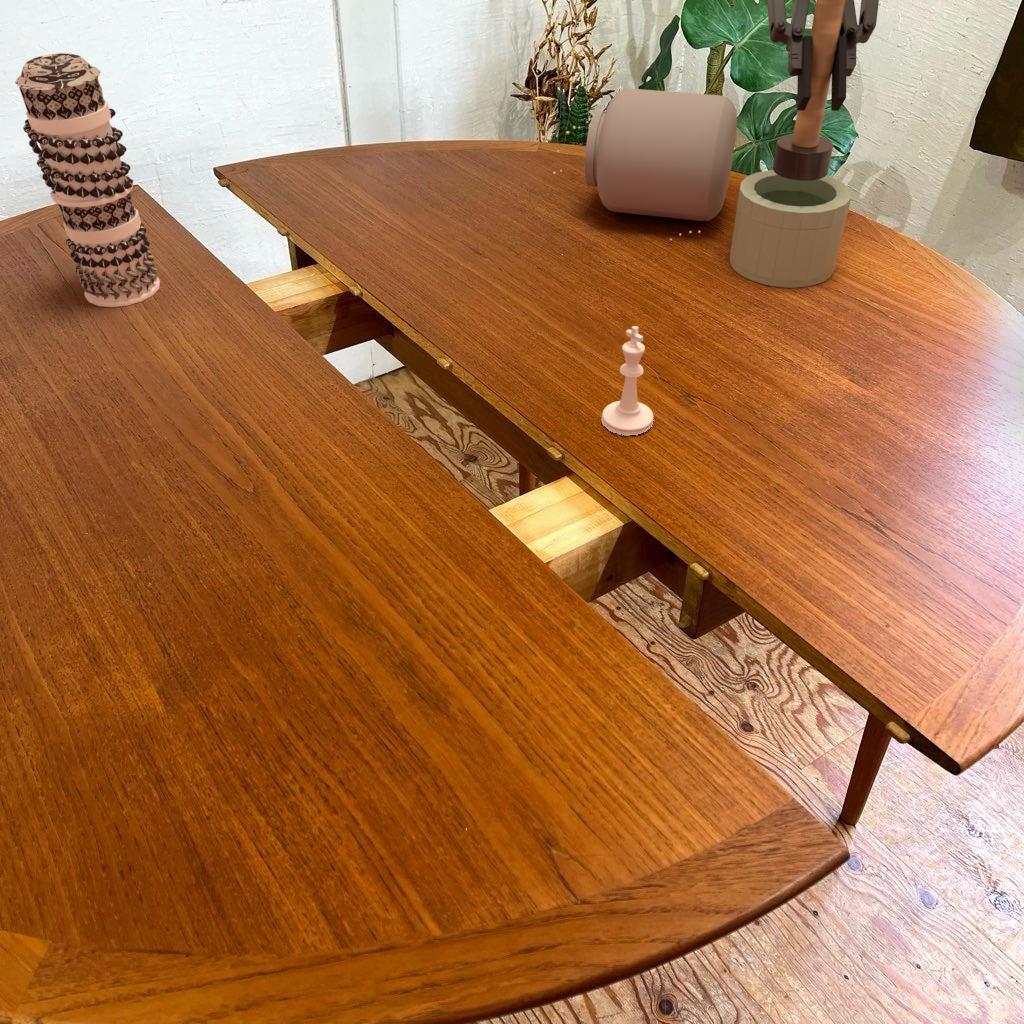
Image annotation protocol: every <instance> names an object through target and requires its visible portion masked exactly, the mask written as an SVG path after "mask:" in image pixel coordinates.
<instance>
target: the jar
mask: <svg viewBox="0 0 1024 1024" xmlns="http://www.w3.org/2000/svg"><path fill="white" fill-rule="evenodd" d="M599 106H600V107H603V103H600V105H599ZM585 123H586V124H589V127H588V132H587V137H586V145H585V155H584V156H585V157H584V176H585V183H586V186H588V187H594V188H595V187H597V193H598V196H599V199H600V201H601V203H602V205H603V206H604V207H605V208H606V209H607V210H608V211H610V212H613V213H620V214H629V215H638V216H649V217H659V218H666V219H667V218H669V219H676V220H686V221H694V222H695V221H696V222H709V221H710V220H712V219H714V218H716V216H717V215H718V214H719V213H720V212H721V211H722V208H723V205H724V203H725V201H726V200H725V199H726V196H727V193H728V188H729V184H730V183H729V182H730V177H731V173H732V165H733V159H734V154H735V145H736V140H737V139H736V138H737V130H738V129H737V128H738V113H737V109H736V106H735V104H734V102H733V101H732V100H731V99H730V98H728V97H727V96H724V95H719V94H705V93H695V92H694V93H693V92H681V91H667V90H654V89H642V88H623V89H622V90H619V91H618V92H617V93H616V94H615V95H613V97H612V98H611V100H610V101H609V103H608V105H607V108H606V109H605V110H603V111H602V110H595V111H594V113H593V114H592V117H591V119H590V123H589V121H588V120H587V121H586V122H585ZM572 129H573V130H576V126H575V125H574V126H572ZM577 129H578V130H580V129H581V126H578V128H577ZM565 133H566V135H570V131H569V130H567V131H566V132H565ZM545 139H546V136H545V135H542V136H541V140H545ZM546 140H547V141H548V142H551V141H552V137H550V136H549V137H547V139H546ZM556 153H560V150H556ZM562 172H563V169H560V170H559V173H562ZM552 175H554V176H555V175H557V172H556V171H553V172H552ZM688 233H689V234H692V233H693V232H692V230H690V231H689V232H688ZM697 233H698V234H701V230H698V231H697ZM678 235H679V236H680V237H681V236H682V233H679V234H678ZM669 241H670V242H672V241H673V238H669Z"/></svg>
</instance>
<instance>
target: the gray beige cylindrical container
mask: <svg viewBox="0 0 1024 1024" xmlns="http://www.w3.org/2000/svg"><path fill="white" fill-rule="evenodd" d="M737 197H738V198H737V204H736V211H735V217H734V225H733V226H734V227H733V232H732V237H731V238H732V239H731V246H730V252H729V264H730V267H731V268H732V269H733V270H734V271H735V272H736V273H737V274H739V276H742V277H743V278H745V279H747V280H749V281H752V282H754V283H758V284H761V285H764V286H770V287H775V288H785V289H787V288H788V289H789V288H790V289H791V288H793V289H795V288H806V287H811V286H815V285H819V284H821V283H824V282H825V281H827V280H829V279H830V278H831V277H832V276H833V274H834V272H835V268H836V266H837V261H838V258H839V254H840V250H841V244H842V239H843V235H844V231H845V227H846V222H847V218H848V213H849V210H850V205H851V201H852V191H851V189H850V188H849V187H848V186H847V185H846V184H845V183H843V182H842V181H840V180H838V179H837V178H835V177H832V176H830V175H828V174H827V175H826V176H825V177H824V178H821V179H818V180H811V181H800V180H792V179H787V178H784V177H781V176H779V175H777V174H776V173H775V172H774V171H773V169H768V170H762V171H758V172H755V173H752V174H749V175H747V176H746V177H745V178H744V179H743V180H741V182H740V184H739V190H738V196H737Z"/></svg>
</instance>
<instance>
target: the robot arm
mask: <svg viewBox="0 0 1024 1024" xmlns="http://www.w3.org/2000/svg"><path fill="white" fill-rule="evenodd" d="M879 2H880V0H860V9H859V15H858V16H859V17H858V19H857V13H856V6H855V0H846V1H845V6H844V12H843V17H842V22H841V28H840V33H839V38H838V43H837V49H836V54H835V59H834V64H833V70H832V75H831V97H830V99H831V100H830V101H831V104H830V105H831V106H830V107H831V109H830V110H831V112H839V111H840V109H841V107H842V106H843V104H844V102H845V100H846V99H847V77H851V76H852V74H853V72H854V71H855V68H856V66H857V45H858V44H865V43H868V41H869V40H870V38H871V36H872V34H873V32H874V31H875V28H876V26H877V20H878V12H879ZM766 6H767V17H768V29H769V39H770V41H771V43H775V44H778V43H782V44H785V50H786V52H787V73H788V75H789V76H790V77H797V82H796V83H797V84H796V85H797V87H796V88H797V90H796V91H797V92H796V94H797V95H796V111H797V110H800V111H804V110H805V108H806V106H807V104H808V102H809V100H810V98H811V57H812V36H810V35H804V33H805V31H806V25H807V18H808V12H809V7H810V0H794V1H793V7H792V11H791V12H792V13H791V17H790V18H791V19H790V23H788V20H787V10H786V9H787V8H786V0H766Z"/></svg>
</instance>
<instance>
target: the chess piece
mask: <svg viewBox="0 0 1024 1024" xmlns="http://www.w3.org/2000/svg"><path fill="white" fill-rule="evenodd" d="M639 328H640V327H639V326H636V325H633V326H631V329H630V328H629V329H626V330H625V336H627V337H628V338H630V341H626V342H624V343H623V344H622V347H621V350H622V353H623V356H624V361H625V363H623V364H622V365H621V366H620V369H619V372H620V374H621V375H622V376H624V377H625V379H624V384H623V389H622V392H621V396H620V400H617V401H613V402H611V403H609V404H607V406H605V407H604V409H603V410H602V412H601V413H602V414H601V417H602V418H600V420H601V424H602V426H603V427H604V426H605V427H606V428H607V429H608V430H607V429H606V428H605V427H604V428H605V429H606V430H607V431H609V432H610V431H611V432H610V433H612V432H613V433H612V434H615V433H617V434H616V435H619V436H623V435H624V437H631V436H630V435H636V436H639V435H638V434H641V433H643V432H646V431H647V430H648V429H650V427H652V428H653V426H652V424H653V421H654V422H655V420H653V419H654V413H653V411H652V409H651V408H650V407H649V406H648V405H646V404H644V403H642V402H640V401H639V400H638V399H639V398H638V383H637V380H638V378H639V377H640V376H642V375H643V374H644V371H645V370H644V368H643V366H642V365H641V364H640V361H641V359H642V357H643V355H644V353H645V350H646V347H645V345H644V344H643V343H642V342H643V341H644V336H643V335H642V334H639V331H640V330H639ZM653 425H654V424H653ZM650 430H651V429H650ZM647 432H648V431H647ZM647 432H646V433H647ZM621 434H622V435H621ZM641 435H642V434H641Z"/></svg>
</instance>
